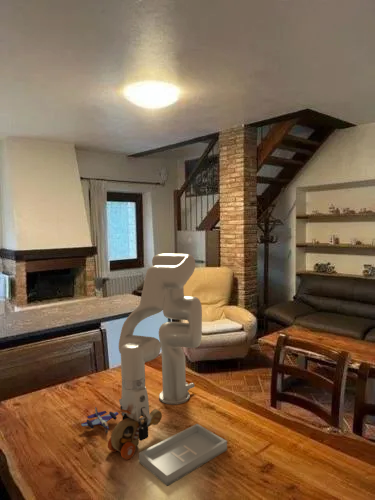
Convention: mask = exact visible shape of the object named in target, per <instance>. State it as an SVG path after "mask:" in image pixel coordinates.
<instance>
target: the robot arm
mask: <svg viewBox="0 0 375 500" xmlns="http://www.w3.org/2000/svg"><path fill="white" fill-rule="evenodd" d="M151 264H152V266H150V267H149V268H148V269H147V270H146V274H145V278H144V283H143V287H142V291H141V296H140V301H139V305H138V306H137V307H135V309H133V311H132V312H131V313H130V314H129V315H128V317H127V318H125V320H124V322H123V324H122V327H121V331H120V335H119V340H118V351H119V354H120V370H121V371H120V372H121V373H120V374H121V397H120V398H119V399H118V401H119V404H120V408H119V409H123V410H127V411H129V412H130V413H131V414H132V416H133V418H132V419H134V420H135V421H138V424H139V427H140V428H139V442H142V441H144V440H146V439H148V438H149V427H150V426H149V425H150V422H151V416H150V415H149V414H150V402H149V396H148V390H147V387H146V369H145V368H146V367H145V365H146V364H145V363H147V362H150V361H152V360H154V359H156V358H157V357H158V356H159V355H160V353H161V370H162V372H161V373H162V378H161V379H162V391H161V392H160V393H158V394H159V395H158V397H159V401H160V402H162V403H163V404H165V405H166V404H167V405H180V404H183V403H186V402H188V401H189V400H190V395H191V393H189V390H190V389H193V388H195V383H194V382H190V383H188V382H187V381H186V379H187V378H186V354H185V351H184V350H183V348H189V349H191V348H192V349H196V348H198V347H199V346H200V345H201V342H202V338H203V337H202V335H203V332H202V330H203V327H202V326H203V322H202V321H203V308H202V303H201V300H200V299H199V298H198V297H196V296H191V295H190V296H189V295H185V294H184V287H185V285H186V284H187V282H188V281H189V279H190V278H191V276H193V274H194V272H195V269H196V259H195V257H194V256H193V255H191V254H189V253H158V254H155V255H154V256H153V257H152V260H151ZM161 312H162V313H163V316H164V317H165V318H167V319H170V320H181V321H187V322H177V321H167V322H163V323H162V324H161V325H160V327H159V328H158V338H159V339H158V338H157V337H152V336H145V335H135V334H134V332H135V329H136V328H137V326H138V325H139V323H140V322H142V321H144V320H145V319H147V318H149V317H152V316H154V315H157V314H159V313H161ZM120 413H121V416H122V418H121V419H122V420H124V419H126V418H130V417H128V416H127V413H124V412H120ZM143 419H144V423H143V424H142V422H141V420H143ZM122 420H121V421H122ZM148 426H149V427H148Z"/></svg>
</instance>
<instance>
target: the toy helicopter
mask: <svg viewBox="0 0 375 500" xmlns="http://www.w3.org/2000/svg"><path fill="white" fill-rule="evenodd" d="M116 412H118V413H122V412H124V413H127V416H128V417H130V418H126V419H124V420H120V421H119V422H118V423H116V425H115V426H114V428H113V430H112V431H111V432H112V433H111V436H110V438H109V440H108V442H107V449H108V450H109V451H111V452H112V453H113V452H114V453H115V452H117V451H118V452H119V453H120V456H121V458H123V459H124V460H131V459H132V457H133V456H134V455H135V452H136V447H138V446H139V443H140V440H139V428H140V427H139V424H138V421H135V420H134V419H132V418H133V416H132V414H131V413H130V412H129V411H127V410H123V409H121V408H119V409H118V408H117V411H116ZM149 415H150V416H151V422H150V425H149V426H148V428H149V427H151V426H152V425H154V426H156V425H159V423H160V422H161V421H162V418H163V417H162V416H163V414H162V411H160V410H159V409H157V408H155V409H152V411H150V412H149ZM141 422H142V424H143V423H144V419H143V420H141Z"/></svg>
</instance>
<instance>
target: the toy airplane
mask: <svg viewBox="0 0 375 500" xmlns="http://www.w3.org/2000/svg"><path fill="white" fill-rule="evenodd" d="M94 409H95V411H94V412H95V413H93V414H90V415H88V416H86V417H87V419H86V422H82V423H81V424H80V425H81V426H82V427H89V428H90V429H94V426H97V425H98V426H99V425H100V427H102V428H104V429H105V434H108V431H110V428H109V424H108V421H110V420H112V419H113V420H117V416H118V415H119V413H120V412H119V411H115V412H112V411H109V413H108V412H107V411H106V410H104V411H103V410H102V411H98V407H96V406H95V407H94ZM107 413H108V414H107ZM90 419H91V420H90ZM106 429H107V430H106ZM110 433H111V434H112V431H110Z"/></svg>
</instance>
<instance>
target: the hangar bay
mask: <svg viewBox="0 0 375 500" xmlns="http://www.w3.org/2000/svg"><path fill="white" fill-rule="evenodd" d="M227 450H228V440H226V439H224V438H223V437H220V436H219V435H217V434H215V433H214V432H212V431H211V430H209V429H207V428H206V427H204V426H202V425H200V424H199V423H195V424H194V425H192V426H190V427H187V428H186V429H184V430H182V431H180V432H178V433H175V434H173V435H172V436H169V437H168V438H166V439H162V441H160V442H159V441H158V443H155V444H154V445H152V446H150V447H148V448H146V449H144V450H142V451H139V452H138V463H139V464H141V466H143V467H144V468H146V469H147V470H148V471H149V472H150V473H151V474H152V475H154V476H155V477H156V478H157V479H159V481H160V482H162V483H163V484H164V485H166V487H168V486H170V485H172V484H173V483H175V482H176V481H178V480H180V479H182V478H183V477H185V476H187V475H188V474H190V473H191V472H193V471H195V470H196V469H198V468H199V467H201V466H203V465H204V464H206V463H208V462H209V461H211V460H213V459H215V458H216V457H218V456H220V455H221V454H223V453H224V452H226V451H227Z"/></svg>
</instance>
